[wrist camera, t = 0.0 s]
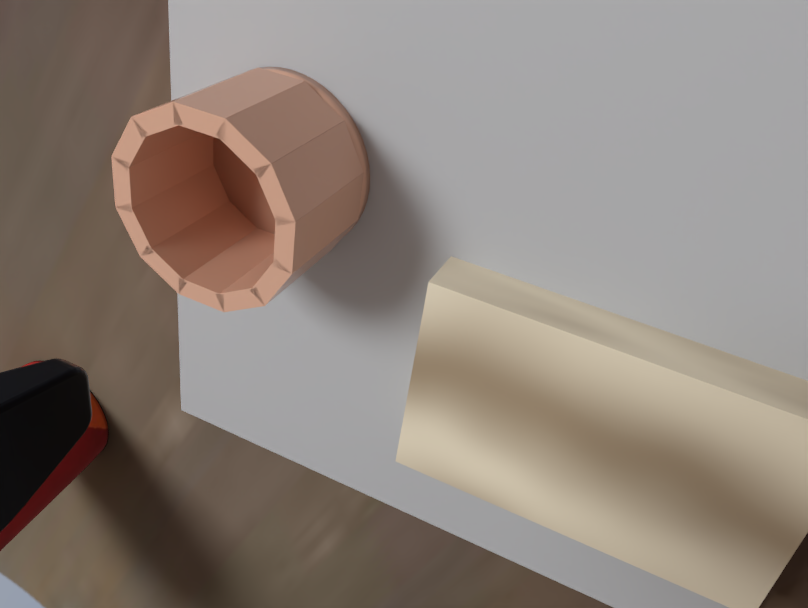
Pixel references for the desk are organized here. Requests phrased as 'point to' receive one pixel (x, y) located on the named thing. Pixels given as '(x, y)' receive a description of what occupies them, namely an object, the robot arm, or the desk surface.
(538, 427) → the lid board
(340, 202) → the bowl
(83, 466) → the paper cup
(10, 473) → the robot arm
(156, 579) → the desk surface
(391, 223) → the desk mat
